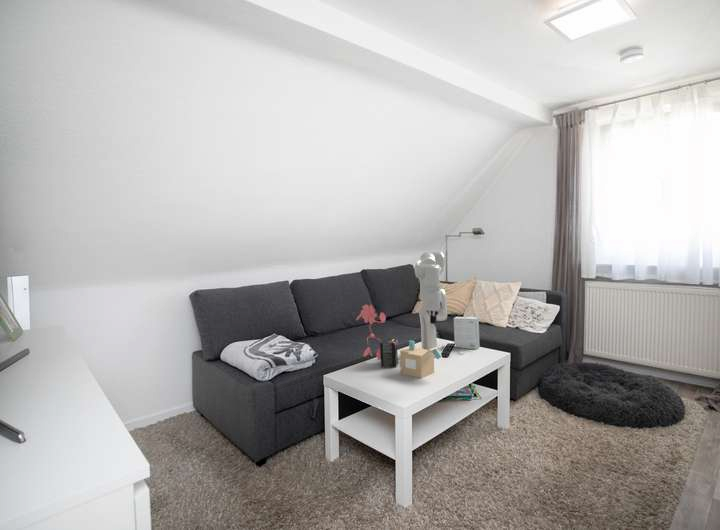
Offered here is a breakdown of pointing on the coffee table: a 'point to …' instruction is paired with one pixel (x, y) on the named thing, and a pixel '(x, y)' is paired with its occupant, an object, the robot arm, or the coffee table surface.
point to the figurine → (369, 317)
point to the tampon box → (388, 353)
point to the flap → (434, 352)
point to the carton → (416, 361)
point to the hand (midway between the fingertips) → (433, 323)
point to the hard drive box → (466, 332)
